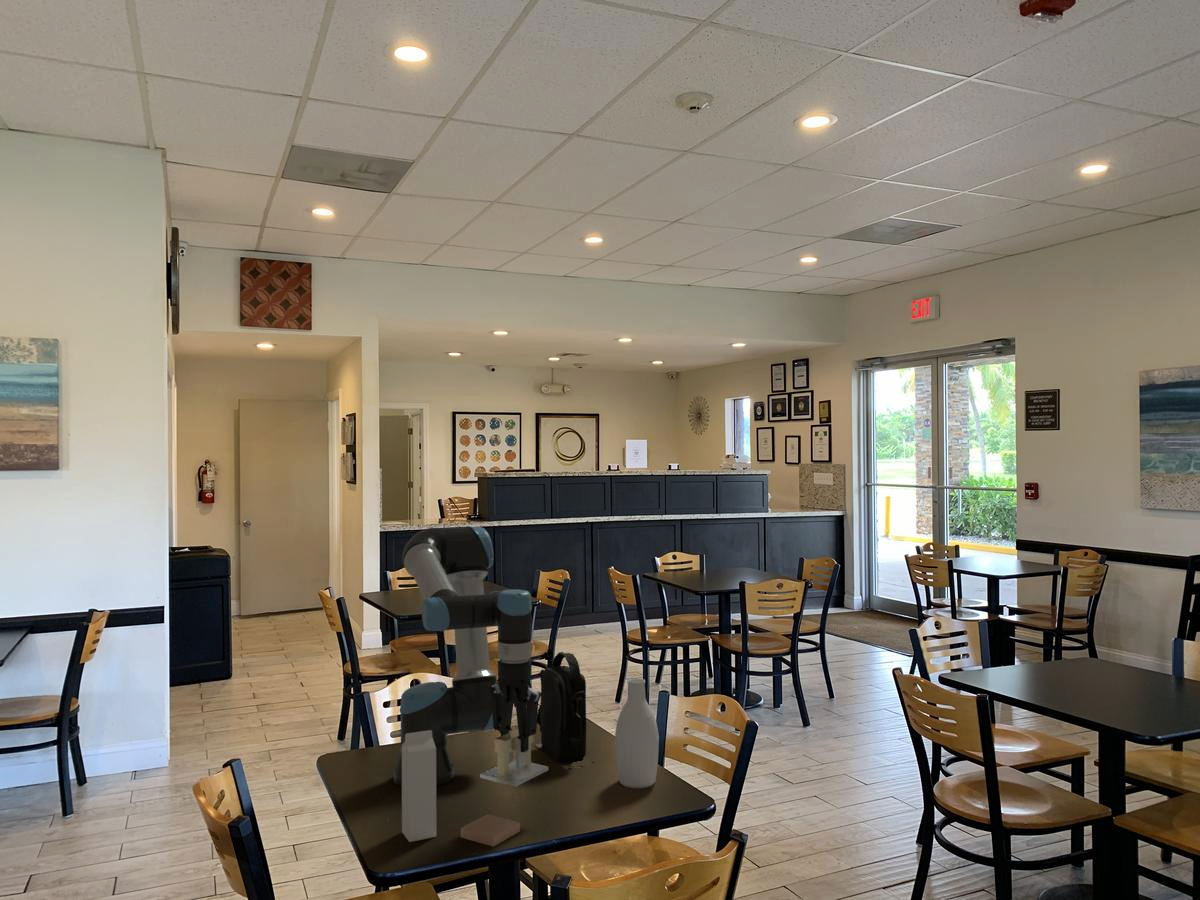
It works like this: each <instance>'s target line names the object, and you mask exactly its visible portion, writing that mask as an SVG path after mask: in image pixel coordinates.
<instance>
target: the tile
mask: <svg viewBox="0 0 1200 900" xmlns="http://www.w3.org/2000/svg"><path fill="white" fill-rule="evenodd" d="M519 832H521V823H520V821H514V820H512V819H507V818H504V817H500V816H497V815H493V814H489V813H488V814H486V815H484V816H482V817H480V818H478V819H476V820H474V821H472V822H470V823H469V824H466V825H465V826H463V827H460V838H461V839H466V840H469V841H473V842H476V843H479V844H483V845H486V846H490V847H496V846H497V845H499V844H501V843H502V842H504V841H506V840H507V839H509V838H511V837H513V836H515V835H516V834H517V833H519Z"/></svg>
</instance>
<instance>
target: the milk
mask: <svg viewBox="0 0 1200 900" xmlns="http://www.w3.org/2000/svg"><path fill="white" fill-rule="evenodd" d="M401 832H402V834H403V835H404V837H405V839H406V840H407V841H408V842H409V843H412V842H413V843H414V842H418V841H421V840H427V839H432V838H437V786H436V747H435V744H434V741H433V738H432V731H431V730H428V731H421V732H414V733H407V734H406V735H405V742H404V743H403V744H402V786H401Z"/></svg>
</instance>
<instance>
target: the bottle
mask: <svg viewBox="0 0 1200 900" xmlns="http://www.w3.org/2000/svg"><path fill="white" fill-rule="evenodd" d="M645 684H646V680H645V678H644V679H643V678H629V679H627V700H626V701H625V703H624V705H623V707H622V709H621V710H620V713H619V715H618V719H617V723H616V728H615V735H614V747H615V748H614V749H615V763H616V768H617V776H618V782H619V783H620V784H621V785H622V786H623V787H626V788H629V789H630V788H631V789H645V788H649V787H652V786H653V785H654V784H655V783H656V779H657V773H658V772H657V771H658V763H659V747H660V745H659V744H660V743H659V741H660V740H659V739H660V736H659V735H660V734H659V729H658V724H657V719H656V717H655V714H654V712H653V710H652V708H651V707H650V705H649V703H648V702H647V699H646V687H645V686H646V685H645Z"/></svg>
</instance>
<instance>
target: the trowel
mask: <svg viewBox="0 0 1200 900" xmlns="http://www.w3.org/2000/svg"><path fill="white" fill-rule="evenodd" d="M509 732H510V733H507V734H505V735H503V736H501V735H500V736H498V737H495V739H494V753H496V754H497V766H495V767H493V768H491V769H488V770H486V771H484V772H482V773H479V778H480V779H483V780H486V781H487V780H488V781H491V782H494V783H499V784H503V785H506V786H510V787H514V788H516V787H519V786H520V785H522V784H524V783H526V782H529V781H530V780H531V779H534V778H536V777H538V776H541V775H542V774H545V773H546V772H547V771H549V766H547V765H542V764H538V763H534V762H532V743H534V735H532V736H529V744H528V745H529V749H528V751H527V752H526V765H524V766H522V767H520V768H517V767H516V758H513V762H511V763H509V753H511V752H513V753H514V752H516V738H517V736H519V731H518V728H516V729H515V730H511V731H509Z"/></svg>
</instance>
